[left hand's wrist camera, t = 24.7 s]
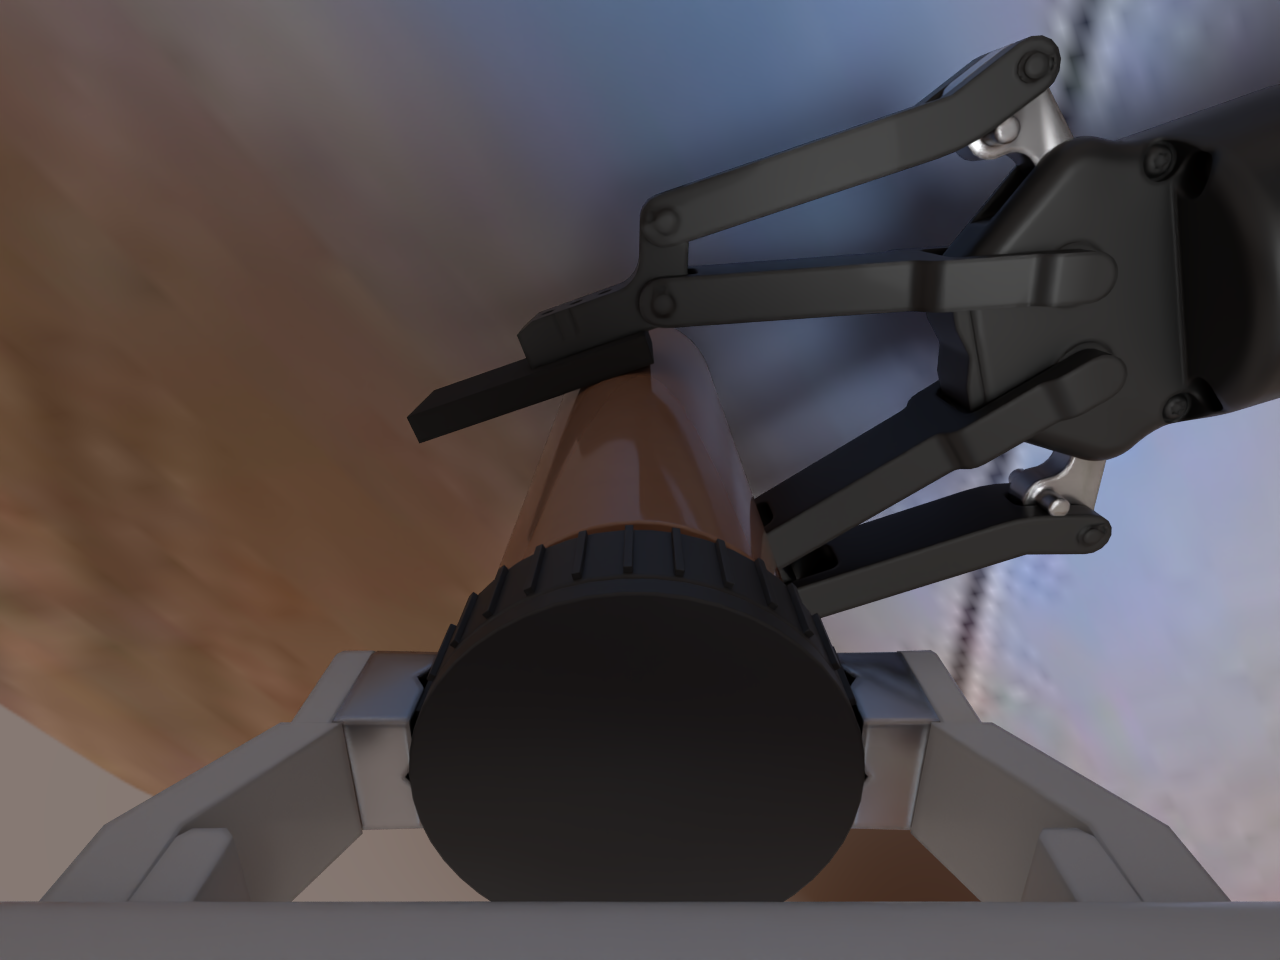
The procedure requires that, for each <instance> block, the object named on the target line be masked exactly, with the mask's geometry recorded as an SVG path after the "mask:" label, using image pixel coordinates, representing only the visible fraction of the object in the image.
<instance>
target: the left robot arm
mask: <svg viewBox="0 0 1280 960" xmlns="http://www.w3.org/2000/svg"><path fill="white" fill-rule="evenodd" d="M437 654H438V652H409V651H376V652H375V651H342V652H340V653H338V654H337V655H336V656H335V657H334V659H333V660H332V662H331V663H330V665H329V666H328V668H327V669H326V671H325V672H324V674H323V675H322V677H321V678H320V680H319V681H318V683H317V684H316V686H315V687H314V689H313V690H312V692H311V693H310V695H309V696H308V698H307V699H306V701H305V702H304V704H303V705H302V707H301V708H300V710H299V711H298V713H297V714H296V716H295V717H294V719H293V720H292V722H291V723H279V724H277V725H276V726H274V727H272V728H270V729H269V730H267V731H265V732H264V733H262V734H260V735H258V736H257V737H255V738H253V739H251V740H250V741H248V742H246V743H245V744H243V745H241V746H239V747H238V748H236V749H234V750H233V751H231V752H229V753H227V754H226V755H224V756H222V757H220V758H219V759H217V760H215V761H214V762H212V763H210V764H208V765H207V766H205V767H203V768H201V769H200V770H198V771H196V772H195V773H193V774H191V775H189V776H188V777H186V778H184V779H183V780H181V781H179V782H177V783H176V784H174V785H172V786H170V787H169V788H167V789H165V790H164V791H162V792H160V793H158V794H157V795H155V796H153V797H151V798H150V799H148V800H146V801H145V802H143V803H141V804H139V805H138V806H136V807H134V808H133V809H131V810H129V811H127V812H126V813H124V814H122V815H121V816H119V817H117V818H115V819H114V820H112V821H110V822H108V823H107V824H105V825H104V826H103V827H102V828H101V829H100V830H99V832H98V833H97V834H96V835H95V836H94V837H93V839H92V840H91V841H90V842H89V843H88V844H87V846H86V847H85V848H84V849H83V850H82V851H81V853H80V854H79V855H78V856H77V857H76V859H75V860H74V861H73V862H72V863H71V865H70V866H69V867H68V868H67V869H66V870H65V871H64V873H63V874H62V875H61V876H60V877H59V879H58V880H57V881H56V882H55V883H54V884H53V886H52V887H51V888H50V889H49V890H48V891H47V893H46V894H45V895H44V896H43V897H42V898H41V900H40V901H39V902H0V960H1280V902H1231V901H1230V899H1229V898H1228V897H1227V896H1226V895H1225V893H1224V892H1223V891H1222V890H1221V888H1220V887H1219V886H1218V885H1217V884H1216V882H1215V881H1214V880H1213V879H1212V878H1211V876H1210V875H1209V874H1208V873H1207V872H1206V870H1205V869H1204V868H1203V867H1202V866H1201V864H1200V863H1199V862H1198V861H1197V860H1196V858H1195V857H1194V856H1193V855H1192V854H1191V852H1190V851H1189V850H1188V849H1187V848H1186V846H1185V845H1184V844H1183V843H1182V842H1181V840H1180V839H1179V838H1178V837H1177V836H1176V834H1175V833H1174V832H1173V831H1172V830H1171V828H1170V827H1169V826H1167V825H1166V824H1164V823H1162V822H1161V821H1159V820H1157V819H1156V818H1154V817H1152V816H1150V815H1149V814H1147V813H1145V812H1144V811H1142V810H1140V809H1139V808H1137V807H1135V806H1133V805H1132V804H1130V803H1128V802H1127V801H1125V800H1123V799H1122V798H1120V797H1118V796H1116V795H1115V794H1113V793H1111V792H1110V791H1108V790H1106V789H1104V788H1103V787H1101V786H1099V785H1098V784H1096V783H1094V782H1093V781H1091V780H1089V779H1087V778H1086V777H1084V776H1082V775H1081V774H1079V773H1077V772H1076V771H1074V770H1072V769H1070V768H1069V767H1067V766H1065V765H1064V764H1062V763H1060V762H1058V761H1057V760H1055V759H1053V758H1052V757H1050V756H1048V755H1047V754H1045V753H1043V752H1041V751H1040V750H1038V749H1036V748H1035V747H1033V746H1031V745H1030V744H1028V743H1026V742H1024V741H1023V740H1021V739H1019V738H1018V737H1016V736H1014V735H1013V734H1011V733H1009V732H1007V731H1006V730H1004V729H1002V728H1001V727H999V726H997V725H995V724H994V723H982V722H981V721H980V719H979V718H978V716H977V714H976V713H975V711H974V710H973V708H972V707H971V705H970V704H969V702H968V701H967V699H966V698H965V696H964V695H963V693H962V692H961V690H960V689H959V687H958V686H957V684H956V683H955V681H954V680H953V678H952V677H951V675H950V673H949V672H948V670H947V669H946V667H945V666H944V664H943V663H942V661H941V660H940V658H939V657H938V655H937V654H936V653H934V652H933V651H931V650H923V651H897V652H871V653H837V656H838V658H839V660H840V663H841V665H842V668H843V670H844V672H845V675H846V677H847V680H848V682H849V685H850V687H851V689H852V692H853V694H854V697H855V699H856V702H857V704H856V705H853V706H852V709H853V711H854V714H855V717H856V720H857V722H858V725H859V728H860V731H861V736H862V742H863V747H864V752H865V779H864V785H863V792H862V798H861V802H860V805H859V808H858V811H857V814H856V817H855V820H854V823H853V825H852V827H851V828H860V829H896V830H911V834H912V835H913V836H914V837H915V838H917V840H918V841H920V842H921V843H922V844H923V845H924V846H925V847H926V848H927V849H928V850H929V851H930V852H931V853H932V854H933V855H934V856H935V857H936V858H937V859H938V860H939V861H940V862H941V863H942V864H943V865H944V866H945V867H946V868H947V869H948V870H949V871H950V872H951V873H953V874H954V875H955V876H956V877H957V878H958V879H959V880H960V881H961V882H962V883H963V884H964V885H965V886H966V887H967V888H968V889H969V890H970V891H971V892H972V893H973V894H974V895H975V896H976V897H977V898H978V899H979V900H980V901H981V902H292V901H293V900H294V899H295V898H296V897H297V896H298V895H299V894H300V893H301V892H302V891H303V890H304V889H305V888H306V887H307V886H308V885H309V884H310V883H311V882H312V881H313V880H315V879H316V878H317V877H318V876H319V875H320V874H321V873H322V872H323V871H324V870H325V869H326V868H327V867H328V866H329V865H330V864H331V863H332V862H333V861H334V860H335V859H336V858H337V857H339V856H340V855H341V854H342V853H343V852H344V851H345V850H346V849H347V848H348V847H349V846H350V845H351V844H352V843H353V842H354V841H355V840H356V839H357V838H358V837H359V836H360V835H361V834H362V830H378V829H411V828H423V826H422V824H421V822H420V820H419V817H418V814H417V811H416V808H415V805H414V802H413V798H412V791H411V785H410V778H409V750H410V745H411V740H412V735H413V730H414V726H415V724H416V721H417V718H418V717H417V714H416V709H417V707H418V705H419V702H420V700H421V698H422V696H423V693H424V689H425V687H426V684H427V682H428V680H427V677H428V674H429V672H430V670H431V667H432V665H433V663H434V660H435V658H436V656H437Z"/></svg>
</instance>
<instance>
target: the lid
mask: <svg viewBox="0 0 1280 960" xmlns="http://www.w3.org/2000/svg"><path fill="white" fill-rule="evenodd" d="M427 680H428V682H427V684H426V687H425V689H424V693H423V696H422V698H421V700H420V702H419V705H418V707H417V709H416V714H417V717H418V718H417V721H416V724H415V726H414V730H413V735H412V740H411V745H410V750H409V778H410V785H411V791H412V798H413V802H414V805H415V808H416V811H417V814H418V817H419V820H420V822H421V824H422V826H423V828H424V830H425V832H426V834H427V836H428V838H429V840H430V842H431V843H432V844H433V846H434V847H435V849H436V850H437V852H438V853H439V854H440V856H441V857H442V859H443V860H444V861H445V862H446V863H447V864H448V865H449V867H450V868H451V869H452V870H453V871H454V872H455V873H456V874H457V875H458V876H459V877H460V878H461V879H462V880H463V881H464V882H466V883H467V884H468V885H469V886H470V887H472V888H473V889H474V890H475V891H476V892H478V893H479V894H480V895H482V896H483V897H485V898H486V899H488V900H489V901H491V902H784V901H785V900H787V899H789V898H790V897H791V896H793V895H795V894H796V893H797V892H798V891H799V890H801V889H802V888H803V887H804V886H806V885H807V884H808V883H809V882H810V881H812V880H813V879H814V878H815V877H816V876H817V875H818V874H819V873H820V871H821V870H822V869H823V868H824V867H825V866H826V865H827V864H828V863H829V862H830V861H831V859H832V858H833V856H834V855H835V854H836V852H837V851H838V849H839V848H840V847H841V845H842V844H843V842H844V840H845V838H846V836H847V835H848V833H849V831H850V829H851V827H852V825H853V823H854V820H855V817H856V814H857V811H858V808H859V805H860V802H861V798H862V792H863V785H864V779H865V752H864V747H863V742H862V736H861V731H860V728H859V725H858V722H857V720H856V717H855V714H854V711H853V709H852V706H853V705H856V704H857V702H856V699H855V697H854V694H853V692H852V689H851V687H850V685H849V682H848V680H847V677H846V675H845V672H844V670H843V668H842V665H841V663H840V660H839V658H838V656H837V653H836V651H835V648H834V647H832V645H831V642H830V640H829V637H828V635H827V633H826V630H825V628H824V625H823V623H822V620H821V618H820V616H819V615H818V613H816V614H814V615H811V613H810V612H809V611H808V609H807V608H806V607H805V605H804V604H803V603H802V600H801V598H800V595H799V593H798V590H797V587H796V586H795V585H794V584H793V583H790V584H789V585H788V586H786V585H785V584H784V583H783V582H782V581H781V580H780V579H779V578H778V577H776V576H775V575H773V574H772V573H771V572H769V571H768V570H767V568H766V565H765V562H764V561H763V560H762V559H760V558H759V557H758V558H757V559H756V560H755V561H753V560H751V559H749V558H747V557H745V556H743V555H741V554H739V553H738V552H736V551H734V550H731V549H729V548H726V545H725V541H724V540H721V539H717V540H716V542H715V543H713V542H710V541H708V540H704V539H700V538H696V537H692V536H688V535H684V534H681V532H680V528H673V527H672V531H671V532H663V531H655V530H634V529H633V525H625V530H620V531H611V532H602V533H595V534H591V535H588V533H587V531H586V530H584V531H580V532H579V534H578V538H574V539H569V540H567V541H564V542H561V543H559V544H556V545H553V546H550V547H548V548H545V547H544V545H543V544H541V545H539V546H536V548H535V551H534V554H533V555H531V556H529V557H527V558H525V559H523V560H521V561H520V562H518V563H516V564H515V565H514V566H512V567H511V568H509V569H508V568H507V567H506V566H505V565H503V566H502V567H501V568H499V569H498V572H497V575H496V578H495V580H494V581H492V582H491V583H490V584H489V585H488V586H487V587H486V588H485V589H484V590H483V591H482V592H481V593H480V594H479V595H477V594H476V593H474V592H473V593H472V594H471V595H470V596H469V598H468V601H467V603H466V606H465V608H464V610H463V613H462V615H461V618H460V620H459V622H458V624H457V626H456V625H453V624H450V626H449V628H448V630H447V633H446V635H445V637H444V640H443V642H442V644H441V647H440V649H439V651H438V654H437V656H436V658H435V660H434V663H433V665H432V667H431V670H430V672H429V674H428V677H427Z"/></svg>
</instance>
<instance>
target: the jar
mask: <svg viewBox="0 0 1280 960" xmlns="http://www.w3.org/2000/svg"><path fill="white" fill-rule="evenodd" d="M648 332H649V335H650V337H651V340H652V346H653V356H654V364H651V365H648V366H645V367H642V368H639V369H636V370H633V371H630V372H627V373H625V374H622V375H619V376H616V377H613V378H610V379H607V380H604V381H601V382H598V383H595V384H592V385H589V386H586V387H583V388H580V389H578V390H575V391H572V392H569V393H566V394H564V396H563V399H562V402H561V404H560V407H559V410H558V412H557V415H556V418H555V420H554V423H553V426H552V428H551V431H550V434H549V436H548V439H547V442H546V444H545V447H544V450H543V452H542V455H541V458H540V460H539V463H538V466H537V468H536V471H535V474H534V476H533V479H532V482H531V484H530V487H529V490H528V492H527V495H526V498H525V500H524V503H523V506H522V508H521V511H520V514H519V516H518V519H517V522H516V524H515V527H514V530H513V532H512V535H511V538H510V540H509V543H508V546H507V548H506V551H505V554H504V556H503V559H502V562H501V564H500V567H499V568H501V567H502V566H503V565H505V566H506V567H507V568H508V569H509V568H511V567H512V566H514V565H515V564H516V563H518V562H520V561H521V560H523V559H525V558H527V557H529V556H531V555H533V554H534V551H535V548H536V546H539V545H541V544H543V545H544V547H545V548H548V547H550V546H553V545H556V544H559V543H561V542H564V541H567V540H569V539H574V538H578V534H579V532H580V531H584V530H586V531H587V533H588V535H591V534H595V533H602V532H611V531H620V530H625V525H633V529H634V530H655V531H663V532H671V531H672V527H673V528H680V532H681V534H684V535H688V536H692V537H696V538H700V539H704V540H708V541H710V542H713V543H715V542H716V540H717V539H721V540H724V541H725V545H726V548H729V549H731V550H734V551H736V552H738V553H739V554H741V555H743V556H745V557H747V558H749V559H751V560H753V561H755V560H756V559H757V558H758V557H759V558H760V559H762V560H763V561H764V562H765V565H766V568H767V570H768V571H769V572H771V573H772V574H773V575H775V576H776V577H778V578H779V579H780V580H781V581H782V582H783V580H782V577H781V574H780V572H779V569H778V566H777V563H776V560H775V557H774V554H773V552H772V549H771V546H770V543H769V540H768V537H767V534H766V532H765V529H764V526H763V523H762V520H761V517H760V514H759V512H758V509H757V506H756V503H755V500H754V497H753V494H752V492H751V489H750V486H749V483H748V480H747V477H746V474H745V472H744V469H743V466H742V463H741V460H740V457H739V454H738V452H737V449H736V446H735V443H734V440H733V437H732V435H731V432H730V429H729V426H728V423H727V420H726V417H725V415H724V412H723V409H722V406H721V403H720V400H719V397H718V395H717V392H716V389H715V386H714V383H713V380H712V377H711V375H710V372H709V369H708V366H707V364H706V361H705V359H704V357H703V355H702V354H701V352H700V351H699V349H698V348H697V347H696V345H695V344H694V343H693V342H692V341H691V340H690V339H689V338H688V337H687V336H685V335H684V334H683V333H681V332H680V331H678V330H676V329H674V328H655V329H653V330H650V331H648Z"/></svg>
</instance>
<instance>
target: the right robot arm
mask: <svg viewBox="0 0 1280 960" xmlns="http://www.w3.org/2000/svg"><path fill="white" fill-rule="evenodd" d="M1060 62H1061V57H1060V53H1059V48H1058V47H1057V45H1056V44H1055V43H1054V42H1053V40H1052V39H1050V38H1047V37H1045V36H1042V35H1041V36H1031V37H1028V38H1025V39H1023V40H1020V41H1018V42H1015V43H1013V44H1010V45H1007V46H1005V47H1002V48H1000V49H997V50H994V51H992V52H990V53H987V54H984V55H982V56H980V57H978V58H976V59H974V60H973V61H971V62H970V63H969V64H967V65H966V66H965V67H964V68H962V69H961V70H960V71H958V72H957V73H956V74H955V75H953V76H952V77H951V78H950V79H948V80H947V81H946V82H944V83H943V84H942V85H941V86H939V87H938V88H937V89H935V90H934V91H933V92H932V93H930V94H929V95H928V96H926V97H925V98H924V99H923V100H921V101H920V102H919V103H918V104H916V105H915V106H913V107H910V108H908V109H905V110H902V111H899V112H896V113H893V114H890V115H887V116H884V117H881V118H878V119H875V120H872V121H870V122H867V123H864V124H861V125H858V126H855V127H852V128H849V129H846V130H843V131H840V132H837V133H835V134H832V135H829V136H826V137H823V138H820V139H817V140H814V141H811V142H808V143H805V144H802V145H799V146H797V147H794V148H791V149H788V150H785V151H782V152H779V153H776V154H773V155H770V156H767V157H764V158H761V159H759V160H756V161H753V162H750V163H747V164H744V165H741V166H738V167H735V168H732V169H729V170H726V171H723V172H721V173H718V174H715V175H712V176H709V177H706V178H703V179H700V180H697V181H694V182H691V183H688V184H686V185H683V186H680V187H677V188H674V189H671V190H668V191H665V192H662V193H659V194H656V195H654V196H653V197H651V198H649V199H648V200H647V201H646V202H645V204H644V205H643V206H642V210H641V213H640V237H639V260H638V265H637V267H636V270H635V271H634V273H633V274H632V275H631V276H630V277H629V278H628V279H627V280H626V281H624V282H622V283H620V284H618V285H615V286H612V287H609V288H607V289H604V290H601V291H598V292H595V293H592V294H590V295H587V296H584V297H581V298H578V299H576V300H573V301H570V302H567V303H564V304H562V305H559V306H556V307H553V308H550V309H548V310H545V311H542V312H539V313H538V314H537V315H536V316H535V317H534V318H533V319H531V320H530V321H529V322H528V323H527V324H526V325H525V326H524V327H523V328H522V330H521V331H520V332H519V333H518V334H517V336H518V339H519V341H520V344H521V346H522V349H523V351H524V353H525V356H526V359H523V360H520V361H517V362H514V363H511V364H508V365H506V366H503V367H500V368H497V369H494V370H491V371H488V372H485V373H483V374H480V375H477V376H474V377H471V378H468V379H465V380H463V381H460V382H457V383H454V384H451V385H448V386H445V387H443V388H440V389H437V390H434V391H433V392H432V393H431V394H430V395H429V396H428V397H427V398H426V399H425V400H424V401H423V402H422V403H421V404H420V405H419V406H418V407H417V408H416V409H415V410H414V411H413V412H412V413H411V414H410V415H409V416H408V417H407V419H408V421H409V423H410V425H411V427H412V429H413V431H414V433H415V435H416V437H417V439H418V441H419V443H422V442H425V441H428V440H431V439H434V438H437V437H440V436H442V435H445V434H448V433H451V432H454V431H457V430H460V429H463V428H466V427H469V426H472V425H475V424H478V423H481V422H484V421H487V420H489V419H492V418H495V417H498V416H501V415H504V414H507V413H510V412H513V411H516V410H519V409H522V408H525V407H528V406H531V405H534V404H536V403H539V402H542V401H545V400H548V399H551V398H554V397H557V396H560V395H563V394H566V393H569V392H572V391H575V390H578V389H580V388H583V387H586V386H589V385H592V384H595V383H598V382H601V381H604V380H607V379H610V378H613V377H616V376H619V375H622V374H625V373H627V372H630V371H633V370H636V369H639V368H642V367H645V366H648V365H651V364H654V356H653V346H652V340H651V337H650V335H649V332H648V331H650V330H653V329H655V328H676V327H690V326H704V325H719V324H733V323H747V322H761V321H775V320H789V319H804V318H818V317H832V316H846V315H860V314H875V313H889V312H903V311H919V312H926V315H927V318H928V320H929V322H930V324H931V326H932V328H933V330H934V332H935V334H936V336H937V338H938V340H939V356H938V367H937V371H938V377H939V380H938V381H937V382H935V383H933V384H932V385H930V386H928V387H927V388H925V389H923V390H922V391H920V392H918V393H917V394H915V395H914V396H913V397H912V398H911V399H910V400H909V401H908V404H907V406H906V407H905V408H904V409H903V410H902V411H900V412H899V413H897V414H895V415H894V416H892V417H890V418H889V419H887V420H885V421H884V422H882V423H880V424H879V425H877V426H875V427H874V428H872V429H870V430H869V431H867V432H865V433H864V434H862V435H860V436H859V437H857V438H855V439H854V440H852V441H850V442H849V443H847V444H845V445H844V446H842V447H840V448H839V449H837V450H835V451H834V452H832V453H830V454H829V455H827V456H825V457H824V458H822V459H820V460H819V461H817V462H815V463H814V464H812V465H810V466H809V467H807V468H805V469H804V470H802V471H800V472H799V473H797V474H795V475H794V476H792V477H790V478H789V479H787V480H785V481H784V482H782V483H780V484H779V485H777V486H775V487H774V488H772V489H770V490H769V491H767V492H765V493H764V494H762V495H760V496H759V497H757V498H755V499H754V500H755V503H756V506H757V509H758V512H759V514H760V517H761V520H762V523H763V526H764V529H765V532H766V534H767V537H768V540H769V543H770V546H771V549H772V552H773V554H774V557H775V560H776V563H777V566H778V569H779V572H780V574H781V577H782V580H783V583H784V584H785V585H786V586H788V585H789V584H790V583H793V584H794V585H795V586H796V587H797V590H798V593H799V595H800V598H801V600H802V603H803V604H804V605H805V607H806V608H807V609H808V611H809V612H810V613H811V615H814V614H816V613H818V615H819V616H820V618H823V617H826V616H829V615H832V614H836V613H839V612H842V611H845V610H848V609H852V608H855V607H858V606H861V605H865V604H868V603H871V602H874V601H878V600H881V599H884V598H887V597H890V596H894V595H897V594H900V593H903V592H907V591H910V590H913V589H916V588H919V587H923V586H926V585H929V584H932V583H936V582H939V581H942V580H945V579H949V578H952V577H955V576H958V575H961V574H965V573H968V572H971V571H974V570H978V569H981V568H984V567H987V566H991V565H994V564H997V563H1000V562H1003V561H1007V560H1010V559H1013V558H1016V557H1020V556H1023V555H1026V554H1088V553H1094V552H1095V551H1097V550H1099V549H1101V548H1102V547H1103V546H1104V545H1105V544H1106V543H1107V542H1108V540H1109V538H1110V536H1111V529H1112V527H1111V525H1110V523H1109V521H1108V520H1106V519H1105V518H1103V517H1102V516H1101V515H1099V514H1098V513H1096V512H1095V511H1094V506H1095V502H1096V498H1097V494H1098V490H1099V486H1100V482H1101V479H1102V475H1103V471H1104V467H1105V463H1106V460H1108V459H1111V458H1114V457H1117V456H1119V455H1121V454H1123V453H1125V452H1126V451H1128V450H1129V449H1130V448H1132V447H1133V446H1134V445H1135V444H1136V443H1138V442H1139V441H1140V440H1141V439H1143V438H1144V437H1145V436H1147V435H1148V434H1150V433H1151V432H1153V431H1154V430H1156V429H1158V428H1160V427H1162V426H1165V425H1167V424H1171V423H1176V422H1181V421H1187V420H1193V419H1200V418H1206V417H1212V416H1217V415H1222V414H1226V413H1230V412H1234V411H1237V410H1241V409H1244V408H1247V407H1251V406H1254V405H1257V404H1261V403H1264V402H1267V401H1270V400H1274V399H1277V398H1280V84H1279V85H1275V86H1271V87H1267V88H1264V89H1262V90H1259V91H1256V92H1253V93H1250V94H1247V95H1245V96H1242V97H1239V98H1236V99H1233V100H1230V101H1228V102H1225V103H1222V104H1219V105H1216V106H1213V107H1211V108H1208V109H1205V110H1202V111H1199V112H1196V113H1193V114H1191V115H1188V116H1185V117H1182V118H1179V119H1176V120H1174V121H1171V122H1168V123H1165V124H1162V125H1159V126H1157V127H1154V128H1151V129H1148V130H1145V131H1142V132H1139V133H1137V134H1134V135H1131V136H1128V137H1125V138H1122V139H1119V140H1115V141H1113V140H1107V139H1102V138H1098V137H1092V136H1083V137H1076V138H1073V136H1072V133H1071V131H1070V129H1069V127H1068V125H1067V123H1066V121H1065V119H1064V117H1063V115H1062V113H1061V111H1060V109H1059V107H1058V105H1057V103H1056V101H1055V99H1054V97H1053V95H1052V93H1051V91H1050V89H1049V87H1050V86H1051V85H1052V84H1053V82H1054V81H1055V79H1056V77H1057V75H1058V72H1059V70H1060ZM953 152H956V153H957V154H958V155H959V157H961V158H963V159H964V160H968V161H980V160H991V159H996V158H999V157H1001V156H1004V155H1007V156H1008V157H1010V158H1011V159H1013V161H1014V162H1015V163H1016V166H1015V167H1014V168H1013V170H1012V171H1011V172H1010V173H1009V174H1008V176H1007V177H1006V178H1005V179H1004V180H1003V182H1002V183H1001V184H1000V185H999V187H998V188H997V189H996V190H995V191H994V193H993V194H992V195H991V196H990V198H989V199H988V200H987V201H986V202H985V204H984V205H983V206H982V207H981V209H980V210H979V211H978V212H977V213H976V215H975V216H974V217H973V218H972V220H971V221H970V222H969V223H968V224H967V226H966V227H965V228H964V229H963V231H962V232H961V233H960V234H959V235H958V237H957V238H956V239H955V240H954V242H953V243H952V244H951V245H950V246H940V247H926V248H912V249H899V250H890V251H887V252H882V253H869V254H855V255H841V256H828V257H814V258H800V259H786V260H772V261H758V262H745V263H731V264H717V265H703V266H689V267H688V246H689V241H692V240H695V239H698V238H701V237H704V236H707V235H710V234H713V233H716V232H719V231H722V230H725V229H728V228H731V227H734V226H737V225H740V224H743V223H746V222H749V221H752V220H755V219H758V218H761V217H764V216H767V215H770V214H773V213H776V212H779V211H782V210H785V209H788V208H791V207H794V206H797V205H800V204H803V203H806V202H809V201H812V200H815V199H818V198H821V197H824V196H827V195H830V194H833V193H836V192H839V191H842V190H845V189H848V188H851V187H854V186H857V185H860V184H863V183H866V182H869V181H872V180H875V179H878V178H881V177H884V176H887V175H890V174H893V173H896V172H899V171H902V170H905V169H908V168H911V167H914V166H917V165H920V164H923V163H926V162H929V161H932V160H935V159H938V158H941V157H943V156H946V155H948V154H951V153H953ZM1023 442H1026V443H1030V444H1033V445H1036V446H1039V447H1043V448H1046V449H1049V450H1052V451H1053V453H1052V454H1051V456H1050V457H1049V458H1048V459H1047V460H1046V461H1045V462H1044V463H1042V464H1040V465H1039V466H1036V467H1032V468H1028V469H1025V470H1024V469H1016V470H1014V471H1013V472H1012V473H1011V474H1010V476H1009V483H1004V484H992V485H986V486H980V487H977V488H973V489H969V490H965V491H962V492H959V493H956V494H953V495H950V496H947V497H944V498H941V499H938V500H935V501H931V502H928V503H925V504H922V505H919V506H916V507H913V508H910V509H907V510H904V511H901V512H898V513H894V514H891V515H888V516H885V517H882V518H879V519H876V520H873V521H870V522H867V523H864V524H861V523H863V522H864V521H866V520H868V519H870V518H871V517H873V516H875V515H877V514H878V513H880V512H882V511H884V510H885V509H887V508H889V507H891V506H892V505H894V504H896V503H898V502H899V501H901V500H903V499H905V498H906V497H908V496H910V495H912V494H913V493H915V492H917V491H919V490H920V489H922V488H924V487H926V486H927V485H929V484H931V483H933V482H934V481H936V480H938V479H940V478H941V477H943V476H945V475H947V474H948V473H950V472H952V471H954V470H958V469H972V468H977V467H979V466H982V465H984V464H986V463H988V462H989V461H991V460H993V459H995V458H996V457H998V456H1000V455H1002V454H1003V453H1005V452H1007V451H1009V450H1010V449H1012V448H1014V447H1016V446H1018V445H1019V444H1021V443H1023ZM859 524H861V525H859Z"/></svg>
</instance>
